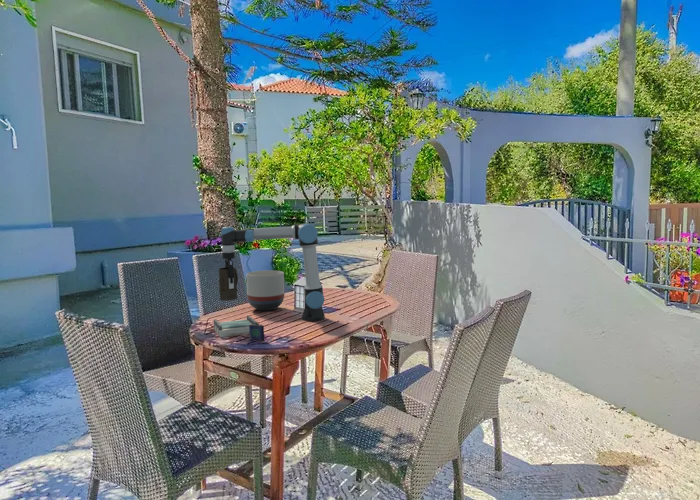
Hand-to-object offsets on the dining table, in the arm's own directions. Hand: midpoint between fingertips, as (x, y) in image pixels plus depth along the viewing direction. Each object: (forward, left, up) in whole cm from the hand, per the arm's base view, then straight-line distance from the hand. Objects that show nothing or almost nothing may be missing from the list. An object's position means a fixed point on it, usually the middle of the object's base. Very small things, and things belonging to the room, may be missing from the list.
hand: (229, 286), depth 302 cm
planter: (+38, -33, -26) cm, 57 cm away
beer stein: (+2, 0, -8) cm, 8 cm away
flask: (-35, -7, -26) cm, 44 cm away
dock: (-10, 0, -26) cm, 28 cm away
